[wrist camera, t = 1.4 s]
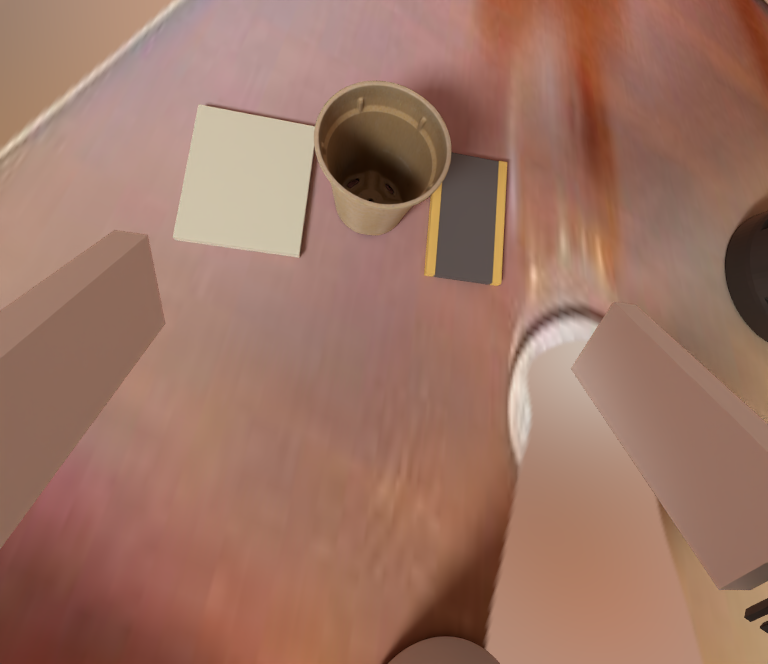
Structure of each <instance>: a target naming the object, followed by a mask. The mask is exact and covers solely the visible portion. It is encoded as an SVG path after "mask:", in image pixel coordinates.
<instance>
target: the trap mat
mask: <svg viewBox="0 0 768 664" xmlns="http://www.w3.org/2000/svg"><path fill="white" fill-rule="evenodd" d="M506 178H507V162H503V161H494V160H489V159H483V158H478V157H473V156H468V155H462V154H457V153H452V152H451V162H450V166H449V169H448V172H447V174H446V177H445V179H444V180H443V182H442V183H441V185H440V186H439V187H438V189H437V190H436V191H435V192H434V193H433V194H432V195H431V198H430V210H429V222H428V234H427V246H426V258H425V270H424V275H425V276H432V277H439V278H447V279H454V280H461V281H468V282H475V283H482V284H489V285H496V286H498V285H500V284H501V278H502V258H503V238H504V218H505V198H506Z"/></svg>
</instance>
